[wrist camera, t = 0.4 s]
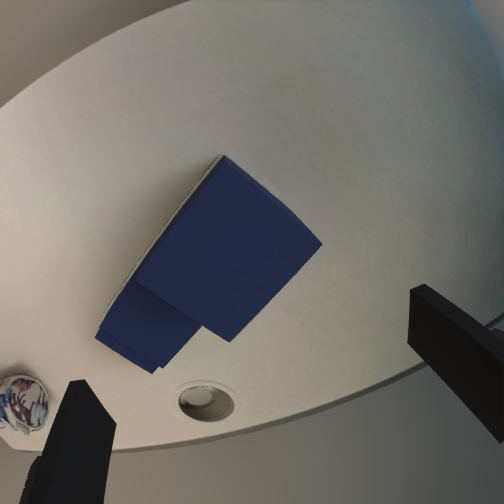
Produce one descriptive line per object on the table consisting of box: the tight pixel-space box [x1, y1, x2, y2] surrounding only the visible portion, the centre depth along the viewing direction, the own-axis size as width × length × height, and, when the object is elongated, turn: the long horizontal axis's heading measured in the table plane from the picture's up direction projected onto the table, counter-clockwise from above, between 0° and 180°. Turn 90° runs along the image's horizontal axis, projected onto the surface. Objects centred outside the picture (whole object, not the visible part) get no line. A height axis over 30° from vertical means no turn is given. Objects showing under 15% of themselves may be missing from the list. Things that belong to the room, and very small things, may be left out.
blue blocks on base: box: [95, 153, 322, 374], centre depth 25 cm, size 22×8×12 cm, turn 140°
